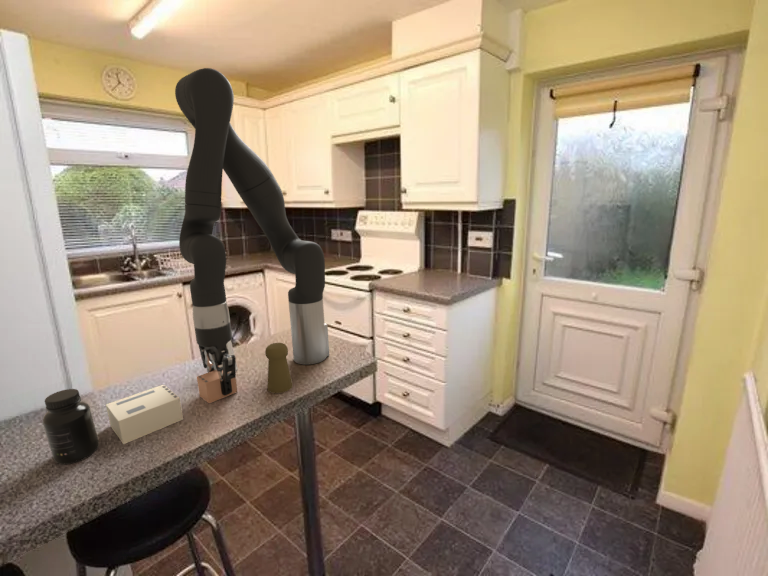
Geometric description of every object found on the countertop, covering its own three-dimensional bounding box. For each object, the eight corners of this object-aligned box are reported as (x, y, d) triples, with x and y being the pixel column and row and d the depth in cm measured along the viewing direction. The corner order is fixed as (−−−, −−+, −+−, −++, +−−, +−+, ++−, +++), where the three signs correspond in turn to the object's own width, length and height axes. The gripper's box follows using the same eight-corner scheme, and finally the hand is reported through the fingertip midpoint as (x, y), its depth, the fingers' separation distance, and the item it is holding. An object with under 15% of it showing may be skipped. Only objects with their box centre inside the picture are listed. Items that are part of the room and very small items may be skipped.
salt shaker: (222, 376, 102) (217, 336, 99) (212, 370, 105) (207, 331, 103) (242, 369, 106) (237, 330, 103) (231, 363, 109) (226, 326, 107)
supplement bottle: (70, 443, 76) (55, 386, 73) (107, 440, 77) (94, 384, 74) (43, 467, 70) (26, 406, 67) (84, 464, 70) (69, 403, 67)
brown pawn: (286, 394, 92) (282, 350, 90) (262, 392, 94) (257, 348, 91) (296, 382, 98) (293, 340, 95) (274, 380, 99) (270, 339, 97)
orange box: (227, 385, 97) (225, 366, 96) (237, 391, 94) (235, 372, 93) (199, 396, 92) (196, 376, 91) (209, 403, 89) (206, 383, 88)
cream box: (167, 404, 89) (163, 384, 88) (183, 419, 83) (179, 397, 82) (110, 426, 81) (105, 404, 80) (123, 444, 75) (118, 420, 74)
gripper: (243, 324, 87) (251, 393, 91) (214, 311, 97) (222, 375, 101) (209, 333, 82) (220, 407, 86) (182, 319, 91) (192, 386, 96)
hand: (221, 389), depth 93 cm, fingers closed on orange box, 5 cm apart
